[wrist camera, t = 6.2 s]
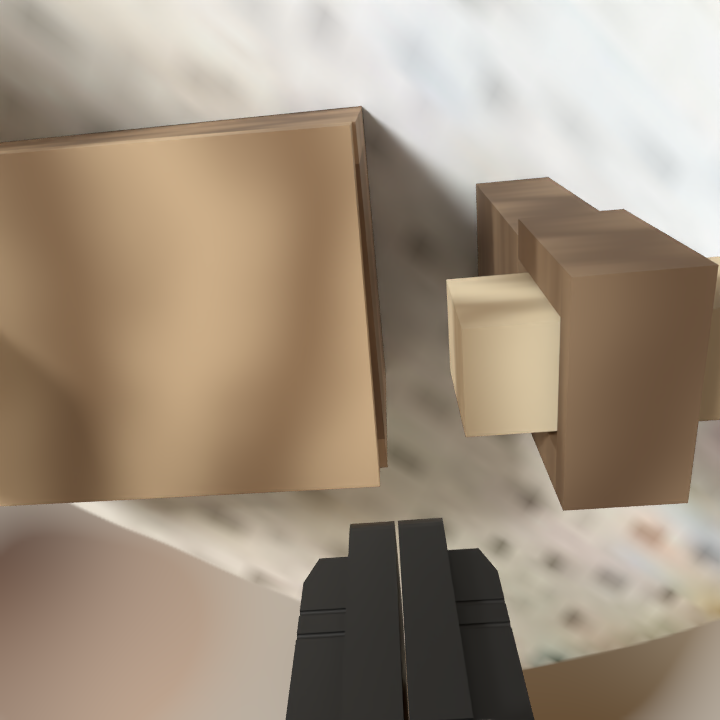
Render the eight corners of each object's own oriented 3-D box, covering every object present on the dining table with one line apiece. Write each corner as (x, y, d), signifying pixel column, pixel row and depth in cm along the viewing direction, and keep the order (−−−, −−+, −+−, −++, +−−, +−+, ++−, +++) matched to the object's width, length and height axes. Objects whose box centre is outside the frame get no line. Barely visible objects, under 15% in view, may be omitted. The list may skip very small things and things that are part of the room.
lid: (-140, 495, 25) (-290, 619, 20) (-291, 175, 20) (-547, 217, 15) (379, 467, 24) (379, 590, 18) (351, 121, 19) (340, 145, 14)
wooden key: (450, 371, 21) (465, 437, 17) (446, 279, 19) (461, 329, 16) (849, 341, 20) (955, 403, 16) (871, 243, 19) (990, 287, 15)
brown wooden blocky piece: (-17, 404, 33) (-301, 648, 19) (-109, 153, 28) (-581, 239, 14) (544, 361, 31) (675, 596, 17) (549, 87, 26) (738, 110, 12)
